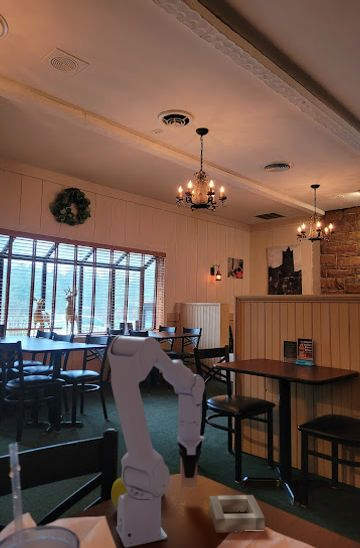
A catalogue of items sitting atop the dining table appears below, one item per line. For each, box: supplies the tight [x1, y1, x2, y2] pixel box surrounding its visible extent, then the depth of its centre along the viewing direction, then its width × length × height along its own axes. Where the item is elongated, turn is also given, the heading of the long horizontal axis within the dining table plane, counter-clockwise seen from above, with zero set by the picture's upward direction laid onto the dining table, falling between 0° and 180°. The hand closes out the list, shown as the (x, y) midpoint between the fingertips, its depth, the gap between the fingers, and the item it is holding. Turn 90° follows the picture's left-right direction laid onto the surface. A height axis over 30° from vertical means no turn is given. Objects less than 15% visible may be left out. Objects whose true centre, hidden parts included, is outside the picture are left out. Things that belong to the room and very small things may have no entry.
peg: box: [179, 449, 198, 488], centre depth 107 cm, size 4×4×8 cm
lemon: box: [110, 476, 128, 509], centre depth 102 cm, size 6×6×8 cm
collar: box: [209, 494, 266, 534], centre depth 98 cm, size 11×11×3 cm
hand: (188, 473), depth 107 cm, fingers closed on peg, 4 cm apart
